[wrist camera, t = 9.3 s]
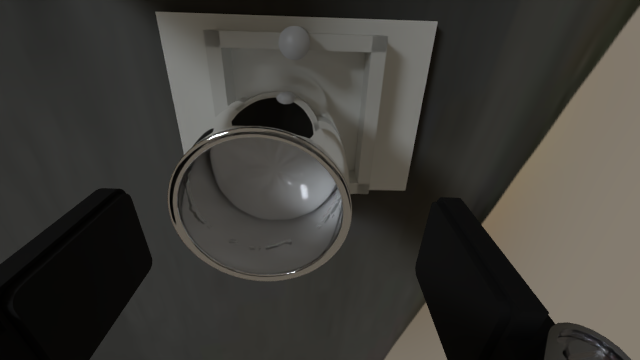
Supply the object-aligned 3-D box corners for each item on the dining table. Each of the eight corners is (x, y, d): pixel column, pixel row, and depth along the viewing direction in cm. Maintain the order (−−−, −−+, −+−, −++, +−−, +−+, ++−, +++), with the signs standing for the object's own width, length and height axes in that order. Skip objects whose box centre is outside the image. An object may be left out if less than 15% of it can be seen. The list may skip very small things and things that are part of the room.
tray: (432, 21, 22) (470, 20, 16) (402, 185, 28) (422, 222, 23) (161, 12, 21) (110, 7, 16) (194, 181, 28) (166, 218, 22)
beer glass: (342, 75, 22) (382, 143, 9) (324, 156, 26) (335, 295, 12) (252, 56, 22) (153, 100, 8) (245, 142, 25) (165, 274, 12)
